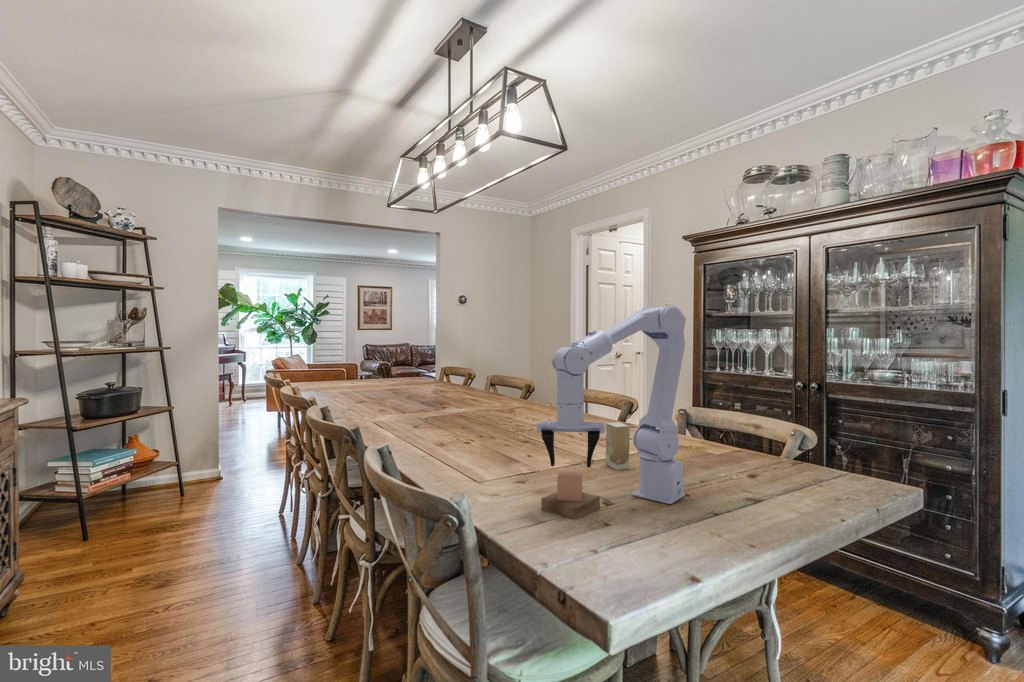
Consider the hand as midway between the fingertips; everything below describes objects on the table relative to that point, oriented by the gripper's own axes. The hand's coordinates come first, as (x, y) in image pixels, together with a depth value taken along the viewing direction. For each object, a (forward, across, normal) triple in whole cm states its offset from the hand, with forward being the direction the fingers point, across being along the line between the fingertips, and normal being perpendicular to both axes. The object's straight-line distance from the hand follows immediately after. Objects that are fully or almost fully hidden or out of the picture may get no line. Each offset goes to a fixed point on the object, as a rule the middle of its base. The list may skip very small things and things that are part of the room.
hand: (570, 465), depth 106 cm
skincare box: (+10, -12, -35) cm, 38 cm away
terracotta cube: (+7, 0, 0) cm, 7 cm away
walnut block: (+10, 0, 0) cm, 10 cm away
